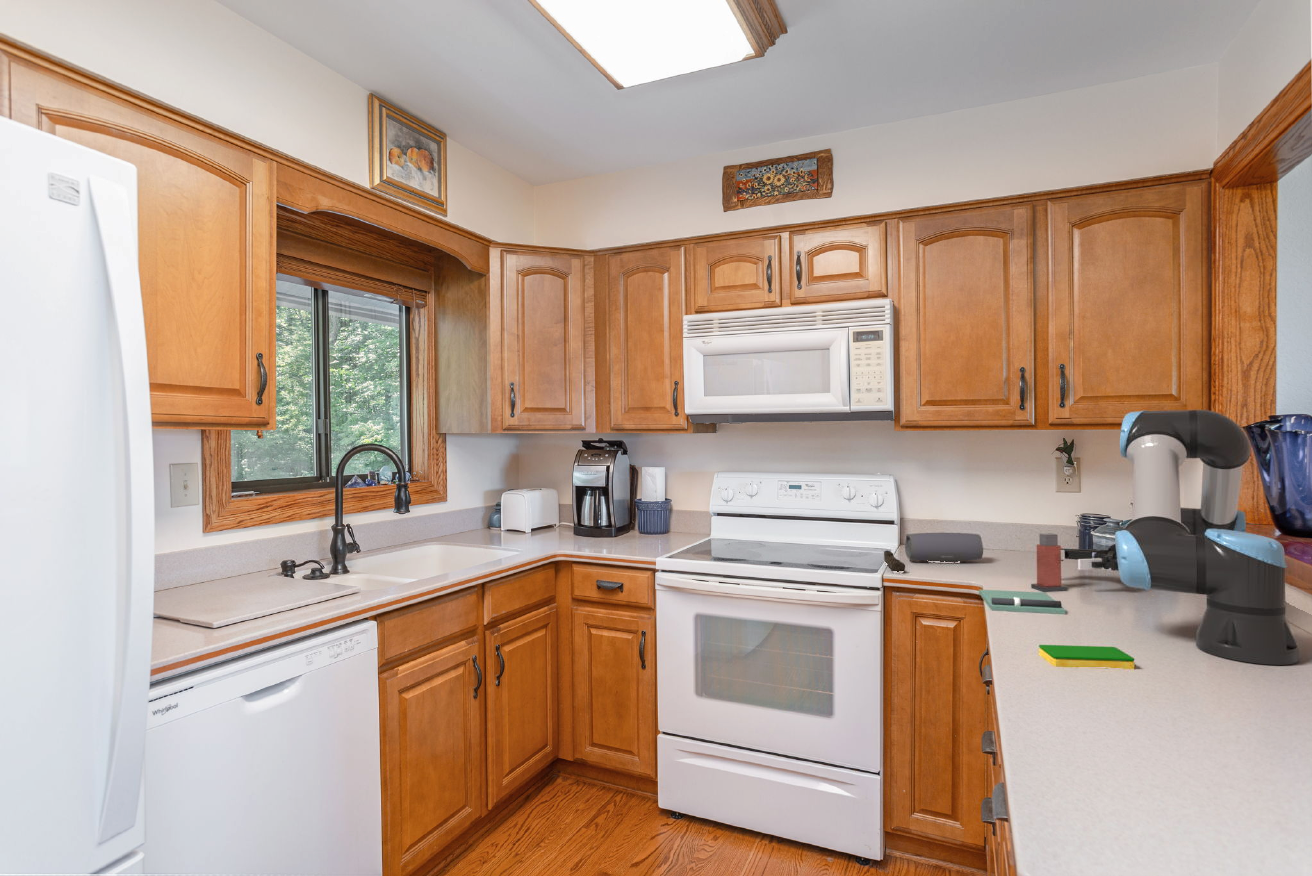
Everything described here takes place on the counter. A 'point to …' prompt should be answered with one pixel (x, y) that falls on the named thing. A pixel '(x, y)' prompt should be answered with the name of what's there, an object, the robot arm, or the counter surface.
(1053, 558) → the grey-capped red pillar
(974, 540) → the bluetooth speaker
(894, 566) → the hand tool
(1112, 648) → the dish sponge
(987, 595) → the cutting mat
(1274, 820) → the counter surface
